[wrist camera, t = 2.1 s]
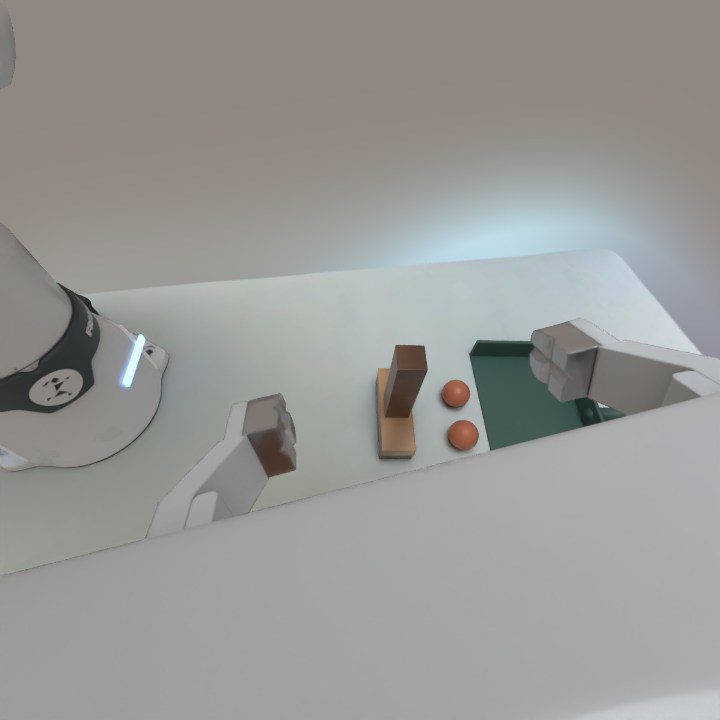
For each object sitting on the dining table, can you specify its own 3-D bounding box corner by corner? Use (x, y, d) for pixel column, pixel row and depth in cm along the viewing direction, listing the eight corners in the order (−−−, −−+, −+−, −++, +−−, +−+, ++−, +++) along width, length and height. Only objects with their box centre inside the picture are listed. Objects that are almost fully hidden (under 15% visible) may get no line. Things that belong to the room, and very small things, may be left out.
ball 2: (440, 441, 41) (447, 430, 38) (454, 421, 42) (462, 409, 40) (464, 459, 40) (473, 449, 37) (478, 438, 41) (488, 427, 39)
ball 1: (434, 400, 44) (440, 387, 41) (448, 383, 45) (455, 370, 42) (456, 416, 43) (464, 404, 40) (470, 398, 44) (478, 385, 41)
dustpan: (502, 502, 37) (514, 495, 35) (469, 354, 48) (477, 340, 45) (693, 501, 39) (719, 494, 36) (621, 356, 49) (637, 343, 46)
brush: (379, 460, 39) (395, 409, 28) (375, 381, 45) (388, 313, 34) (410, 460, 39) (438, 409, 29) (403, 381, 45) (424, 313, 34)
